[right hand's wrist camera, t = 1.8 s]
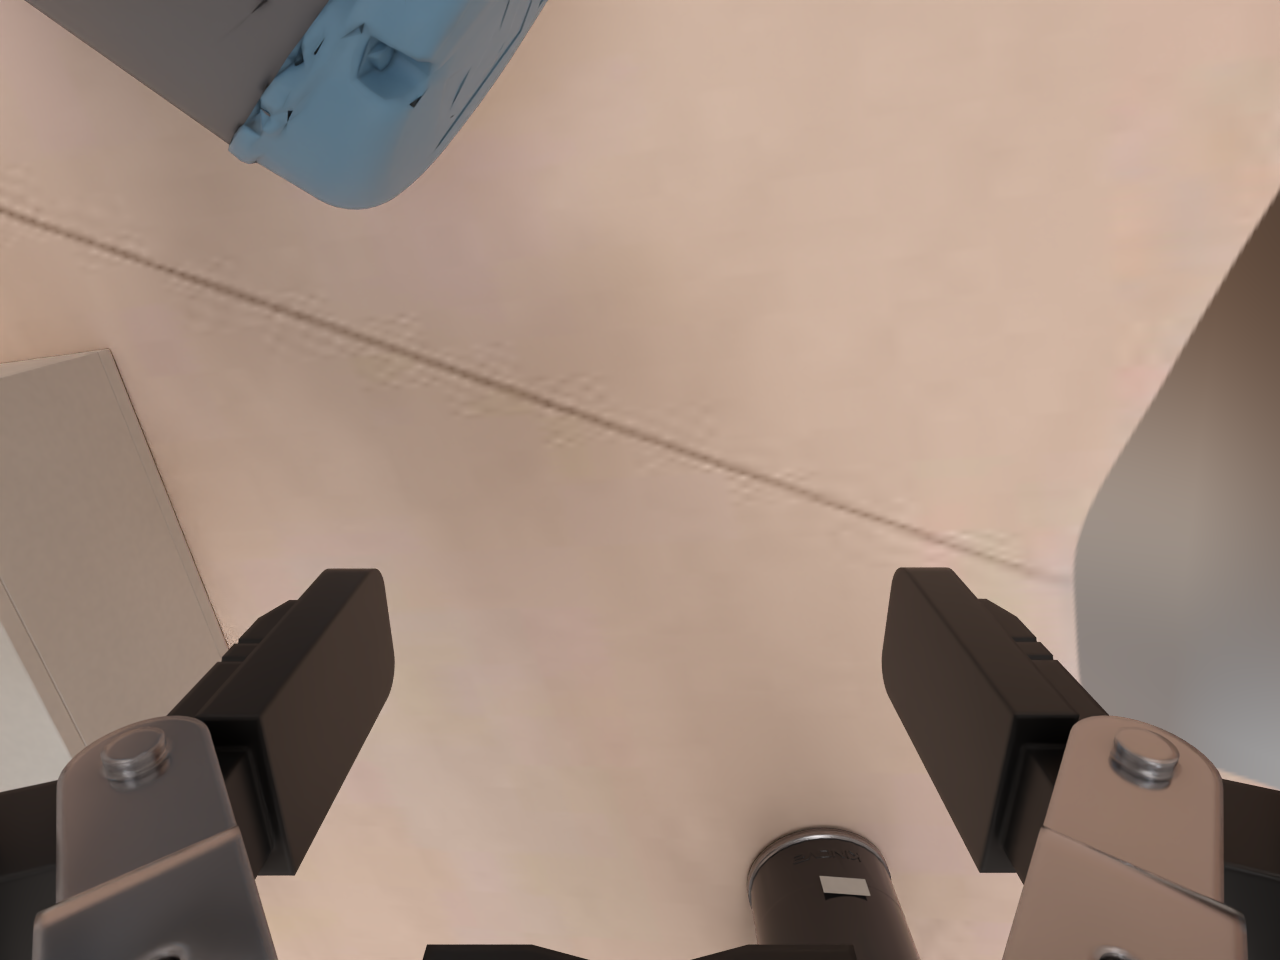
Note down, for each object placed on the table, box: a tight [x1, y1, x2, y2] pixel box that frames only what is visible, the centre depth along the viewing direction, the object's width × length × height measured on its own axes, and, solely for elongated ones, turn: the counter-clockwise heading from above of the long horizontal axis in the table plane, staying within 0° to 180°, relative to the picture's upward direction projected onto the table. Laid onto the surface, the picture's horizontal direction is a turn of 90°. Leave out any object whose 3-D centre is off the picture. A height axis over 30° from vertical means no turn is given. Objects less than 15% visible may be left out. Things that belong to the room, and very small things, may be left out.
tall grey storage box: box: [0, 349, 229, 792], centre depth 34 cm, size 19×10×11 cm, turn 8°
